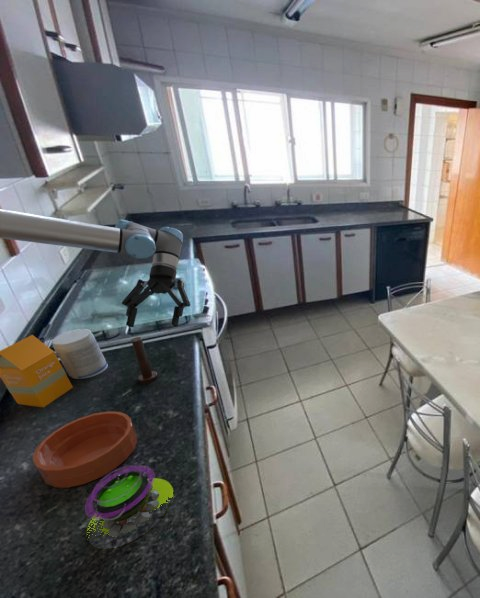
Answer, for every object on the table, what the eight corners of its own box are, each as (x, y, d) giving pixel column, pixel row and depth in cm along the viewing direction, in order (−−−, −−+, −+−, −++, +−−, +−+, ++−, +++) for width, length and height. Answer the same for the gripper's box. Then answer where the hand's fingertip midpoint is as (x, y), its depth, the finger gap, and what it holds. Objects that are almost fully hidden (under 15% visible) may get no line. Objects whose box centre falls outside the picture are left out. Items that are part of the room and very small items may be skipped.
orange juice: (20, 408, 94) (-18, 351, 85) (51, 387, 102) (20, 333, 93) (45, 410, 94) (11, 353, 85) (75, 389, 102) (46, 335, 93)
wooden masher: (139, 379, 109) (125, 337, 102) (157, 373, 112) (145, 333, 105) (140, 387, 105) (126, 345, 99) (159, 381, 108) (146, 340, 102)
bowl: (49, 449, 83) (39, 430, 80) (136, 420, 93) (130, 402, 91) (38, 505, 71) (26, 485, 68) (140, 464, 81) (133, 445, 78)
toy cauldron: (83, 509, 71) (61, 476, 66) (164, 467, 80) (151, 435, 75) (90, 569, 61) (65, 535, 56) (182, 512, 71) (167, 479, 66)
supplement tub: (115, 364, 114) (99, 328, 107) (94, 382, 106) (75, 344, 99) (86, 364, 113) (68, 328, 107) (62, 382, 105) (41, 344, 98)
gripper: (206, 273, 123) (197, 328, 116) (131, 272, 119) (117, 329, 112) (197, 264, 116) (187, 322, 109) (118, 263, 112) (102, 323, 105)
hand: (152, 325), depth 110 cm, fingers open, 13 cm apart
